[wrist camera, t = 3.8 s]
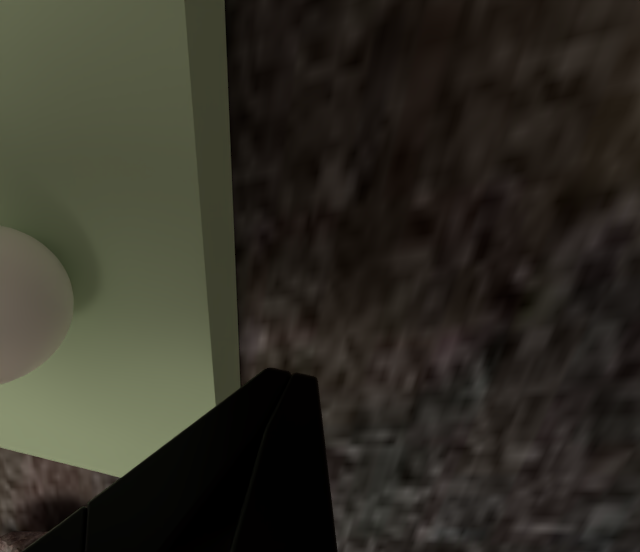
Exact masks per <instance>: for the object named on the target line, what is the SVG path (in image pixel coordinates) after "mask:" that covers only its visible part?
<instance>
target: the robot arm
mask: <svg viewBox="0 0 640 552" xmlns="http://www.w3.org/2000/svg"><path fill="white" fill-rule="evenodd" d="M21 552H337V543H336V535H335V526H334V517H333V509H332V500H331V491H330V483H329V474H328V465H327V457H326V448H325V439H324V431H323V422H322V413H321V405H320V396H319V387H318V380H317V378H316V377H314V376H310V375H305V374H300V373H294V374H291V373H290V372H289V371H285V370H280V369H275V368H266V369H264V370H263V371H262V372H260V373H259V374H258V375H256V376H255V377H254V378H252V379H251V380H250V381H248V382H247V383H246V384H244V385H243V386H242V387H240V388H239V389H238V390H236V391H235V392H234V393H232V394H231V395H230V396H228V397H227V398H226V399H224V400H223V401H222V402H220V403H219V404H218V405H216V406H215V407H214V408H212V409H211V410H210V411H208V412H207V413H206V414H205V415H203V416H202V417H201V418H199V419H198V420H197V421H195V422H194V423H193V424H191V425H190V426H189V427H187V428H186V429H185V430H183V431H182V432H181V433H179V434H178V435H177V436H175V437H174V438H173V439H171V440H170V441H169V442H167V443H166V444H165V445H163V446H162V447H161V448H159V449H158V450H157V451H155V452H154V453H153V454H151V455H150V456H149V457H147V458H146V459H145V460H143V461H142V462H141V463H140V464H138V465H137V466H136V467H134V468H133V469H132V470H130V471H129V472H128V473H126V474H125V475H124V476H122V477H121V478H120V479H118V480H117V481H116V482H114V483H113V484H112V485H110V486H109V487H108V488H106V489H105V490H104V491H102V492H101V493H100V494H98V495H97V496H96V497H94V498H93V499H92V500H90V501H89V502H88V504H87V508H86V507H84V506H83V507H81V508H79V509H78V510H77V511H75V512H74V513H73V514H71V515H70V516H69V517H68V518H66V519H65V520H64V521H62V522H61V523H60V524H58V525H57V526H55V527H54V528H53V529H51V530H50V531H49V532H47V533H46V534H44V535H43V536H42V537H40V538H39V539H37V540H36V541H35V542H33V543H32V544H31V545H29V546H28V547H26V548H25V549H24V550H22V551H21Z"/></svg>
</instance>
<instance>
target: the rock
mask: <svg viewBox="0 0 640 552" xmlns="http://www.w3.org/2000/svg"><path fill="white" fill-rule="evenodd" d="M46 533H47V531H46V532H41V531H37V532H32V531H14V532H11V533H8V534H6V535H4V536H2V537H0V552H21V551H22V550H24V549H25V548H26V547H28V546H29V545H31V544H32V543H33V542H35V541H36V540H37V539H39V538H40V537H42V536H43V535H44V534H46Z"/></svg>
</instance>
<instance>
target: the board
mask: <svg viewBox="0 0 640 552" xmlns="http://www.w3.org/2000/svg"><path fill="white" fill-rule="evenodd" d="M0 226H5V227H9V228H12V229H15V230H18V231H20V232H23V233H25V234H27V235H29V236H31V237H33V238H35V239H36V240H38V241H39V242H41V243H42V244H43V245H45V246H46V247H47V248H48V249H49V250H50V251H51V252H52V253H53V254H54V255H55V256H56V257H57V258H58V260H59V261H60V262H61V264H62V265H63V267H64V269H65V270H66V272H67V274H68V277H69V279H70V282H71V285H72V290H73V296H74V310H73V316H72V321H71V324H70V327H69V330H68V332H67V334H66V336H65V338H64V340H63V342H62V343H61V344H60V346H59V347H58V349H57V350H56V351H55V352H54V353H53V354H52V355H51V356H50V358H49V359H48V360H47V361H45V362H44V363H43V364H42V365H40V366H39V367H38V368H36V369H35V370H33V371H32V372H30V373H28V374H27V375H25V376H22V377H20V378H18V379H15V380H13V381H11V382H7V383H4V384H0V447H1V448H5V449H9V450H13V451H17V452H21V453H25V454H29V455H33V456H37V457H41V458H45V459H49V460H53V461H57V462H61V463H65V464H69V465H73V466H77V467H81V468H85V469H89V470H93V471H97V472H100V473H104V474H108V475H112V476H116V477H120V478H121V477H122V476H124V475H125V474H126V473H128V472H129V471H130V470H132V469H133V468H134V467H136V466H137V465H138V464H140V463H141V462H142V461H143V460H145V459H146V458H147V457H149V456H150V455H151V454H153V453H154V452H155V451H157V450H158V449H159V448H161V447H162V446H163V445H165V444H166V443H167V442H169V441H170V440H171V439H173V438H174V437H175V436H177V435H178V434H179V433H181V432H182V431H183V430H185V429H186V428H187V427H189V426H190V425H191V424H193V423H194V422H195V421H197V420H198V419H199V418H201V417H202V416H203V415H205V414H206V413H207V412H208V411H210V410H211V409H212V408H214V407H215V406H216V405H218V404H219V403H220V402H222V401H223V400H224V399H226V398H227V397H228V396H230V395H231V394H232V393H234V392H235V391H236V390H238V389H239V388H240V363H239V339H238V315H237V291H236V266H235V242H234V218H233V194H232V170H231V146H230V122H229V98H228V73H227V49H226V25H225V1H224V0H0Z"/></svg>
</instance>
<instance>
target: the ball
mask: <svg viewBox="0 0 640 552" xmlns="http://www.w3.org/2000/svg"><path fill="white" fill-rule="evenodd" d="M73 310H74V296H73V290H72V285H71V282H70V279H69V277H68V274H67V272H66V270H65V269H64V267H63V265H62V264H61V262H60V261H59V260H58V258H57V257H56V256H55V255H54V254H53V253H52V252H51V251H50V250H49V249H48V248H47V247H46V246H45V245H43V244H42V243H41V242H39V241H38V240H36V239H35V238H33V237H31V236H29V235H27V234H25V233H23V232H20V231H18V230H15V229H12V228H9V227H5V226H0V384H4V383H7V382H11V381H13V380H15V379H18V378H20V377H22V376H25V375H27V374H28V373H30V372H32V371H33V370H35V369H36V368H38V367H39V366H40V365H42V364H43V363H44V362H45V361H47V360H48V359H49V358H50V356H51V355H52V354H53V353H54V352H55V351H56V350H57V349H58V347H59V346H60V344H61V343H62V342H63V340H64V338H65V336H66V334H67V332H68V330H69V327H70V324H71V321H72V316H73Z"/></svg>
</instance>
